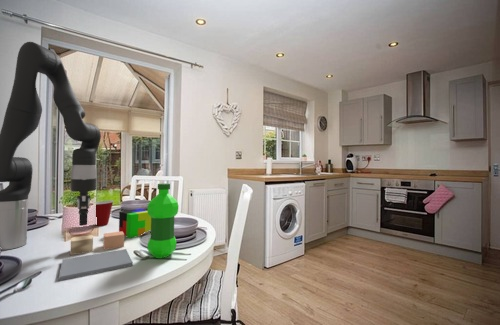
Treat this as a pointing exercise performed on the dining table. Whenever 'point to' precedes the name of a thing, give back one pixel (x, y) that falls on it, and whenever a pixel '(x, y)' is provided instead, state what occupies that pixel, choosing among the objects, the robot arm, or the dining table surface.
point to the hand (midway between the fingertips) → (83, 222)
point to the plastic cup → (103, 212)
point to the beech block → (81, 244)
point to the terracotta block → (113, 240)
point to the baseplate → (94, 264)
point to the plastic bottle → (162, 223)
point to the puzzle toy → (134, 222)
